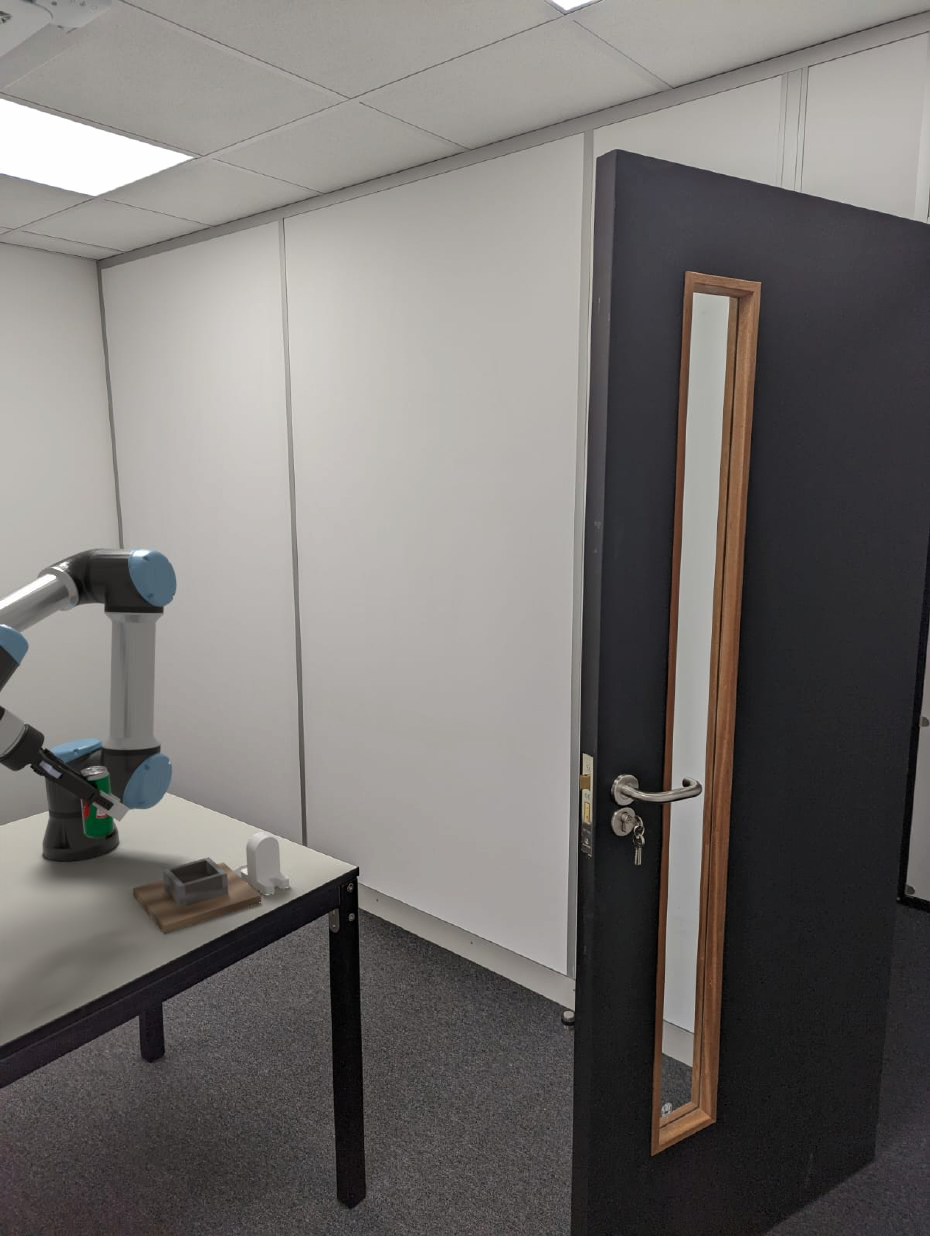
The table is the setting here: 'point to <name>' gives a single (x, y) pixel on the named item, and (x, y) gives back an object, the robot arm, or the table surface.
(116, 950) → the table surface
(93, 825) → the soda can
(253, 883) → the cable organizer
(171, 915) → the socket board
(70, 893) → the table surface
